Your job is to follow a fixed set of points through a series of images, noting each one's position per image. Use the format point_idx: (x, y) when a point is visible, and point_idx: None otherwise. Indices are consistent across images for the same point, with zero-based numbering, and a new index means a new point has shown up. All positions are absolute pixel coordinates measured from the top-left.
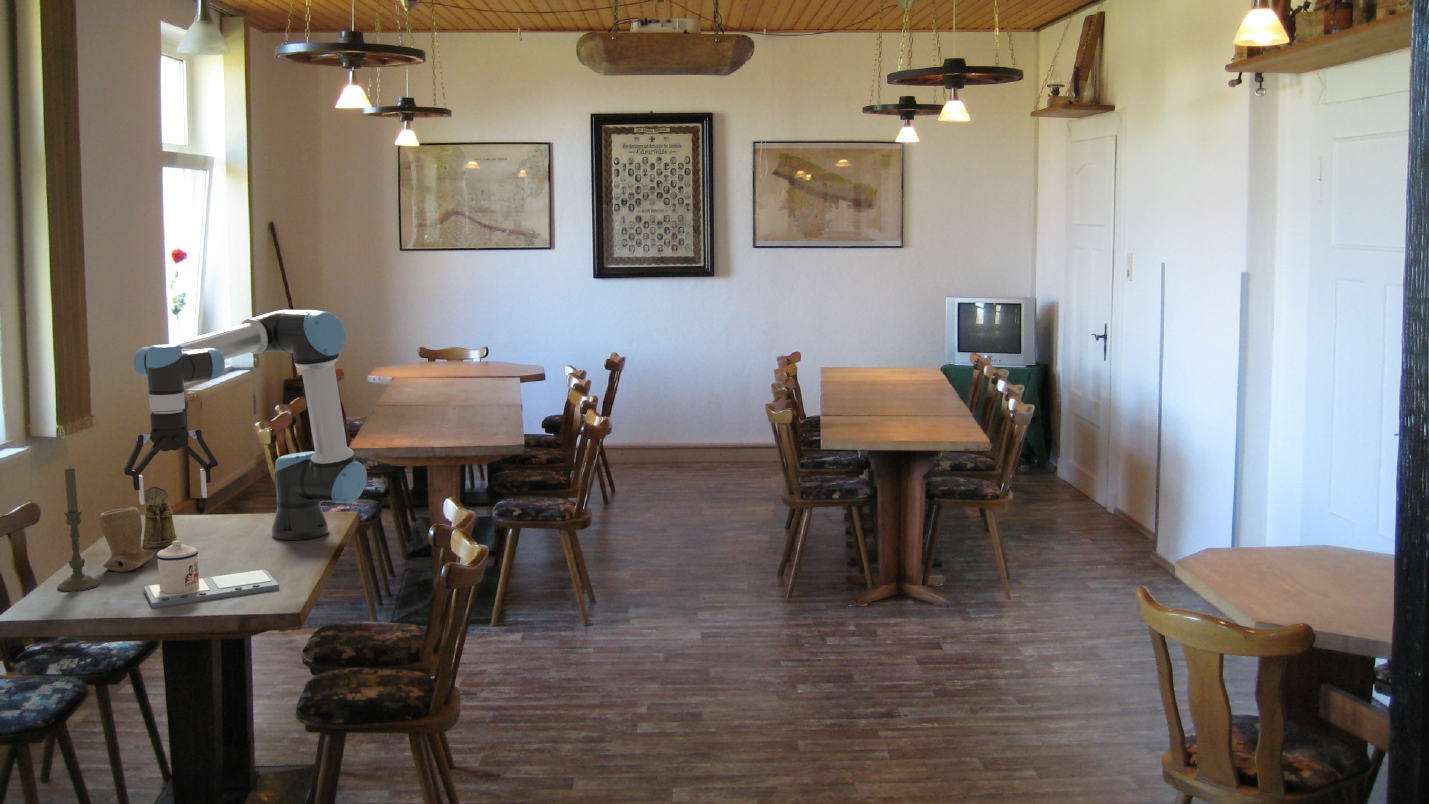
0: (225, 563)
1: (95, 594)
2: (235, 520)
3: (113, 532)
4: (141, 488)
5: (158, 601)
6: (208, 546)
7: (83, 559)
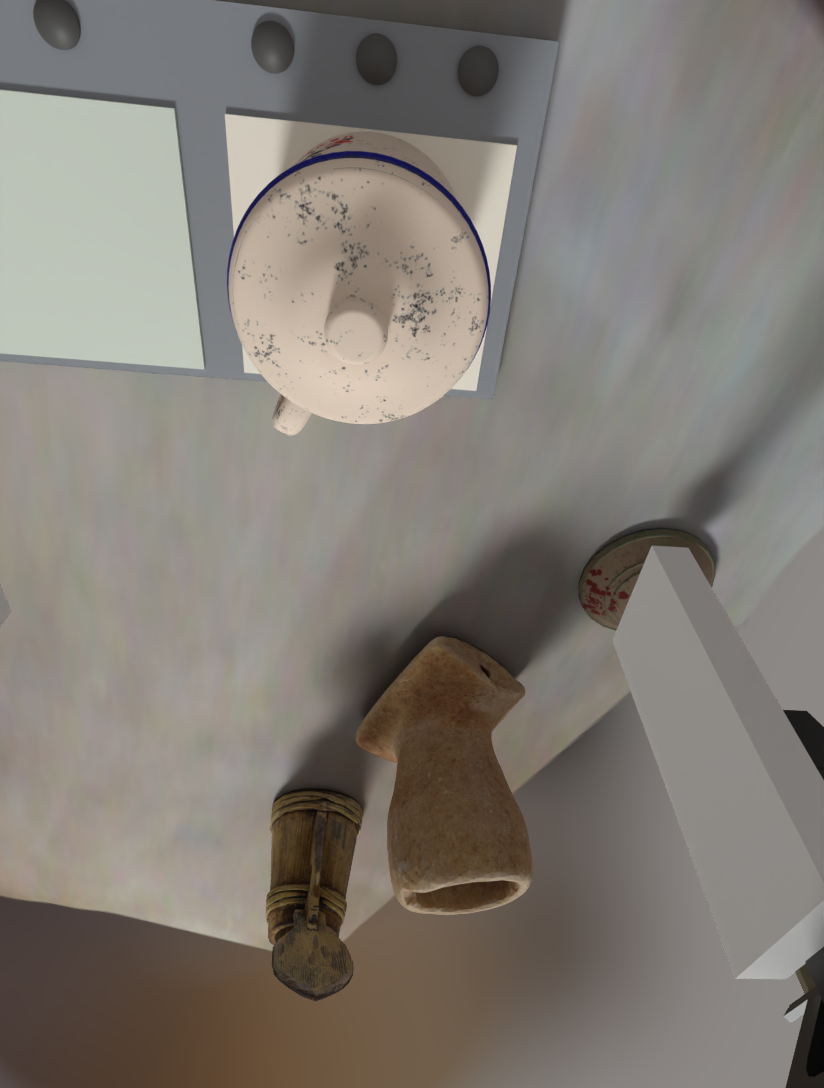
0: (143, 583)
1: (648, 459)
2: (113, 890)
3: (499, 794)
4: (760, 705)
5: (521, 56)
6: (192, 755)
7: None
